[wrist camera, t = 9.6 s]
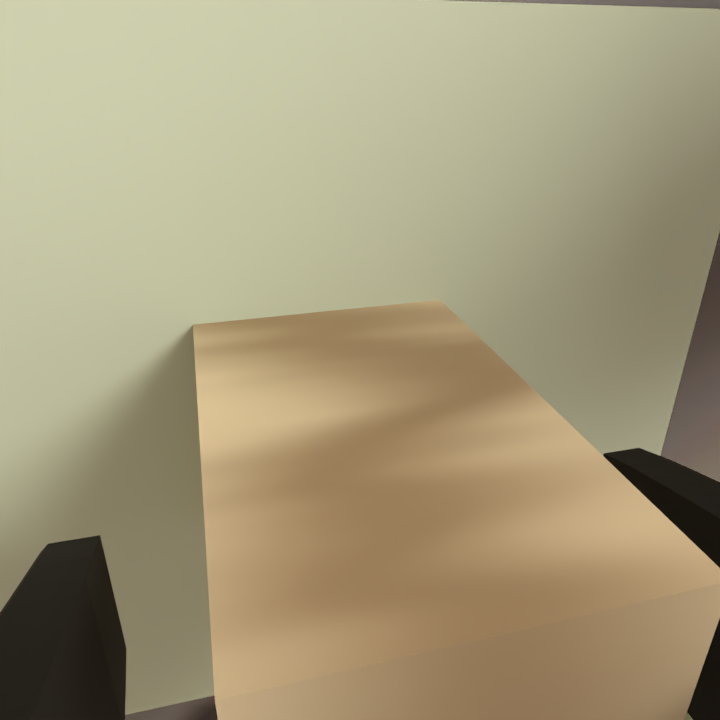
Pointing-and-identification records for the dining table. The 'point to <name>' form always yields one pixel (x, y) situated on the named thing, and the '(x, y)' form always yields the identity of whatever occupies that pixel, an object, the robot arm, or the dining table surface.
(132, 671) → the felt mat
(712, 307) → the dining table surface
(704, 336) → the dining table surface
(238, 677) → the birch block
